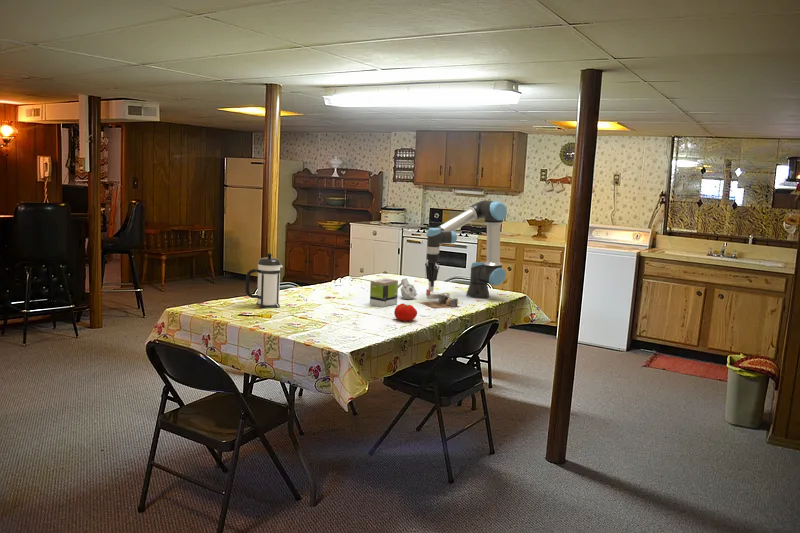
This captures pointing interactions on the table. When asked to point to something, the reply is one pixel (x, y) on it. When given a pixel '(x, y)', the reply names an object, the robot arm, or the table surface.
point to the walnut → (448, 302)
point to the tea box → (383, 292)
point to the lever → (437, 296)
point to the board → (443, 305)
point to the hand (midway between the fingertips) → (430, 291)
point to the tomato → (405, 312)
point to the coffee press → (266, 281)
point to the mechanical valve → (407, 289)
